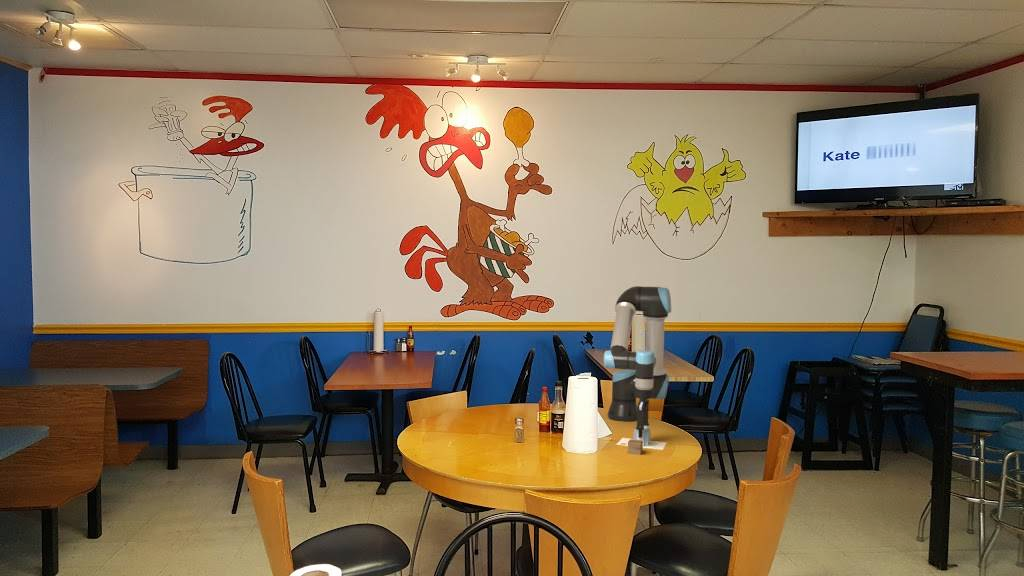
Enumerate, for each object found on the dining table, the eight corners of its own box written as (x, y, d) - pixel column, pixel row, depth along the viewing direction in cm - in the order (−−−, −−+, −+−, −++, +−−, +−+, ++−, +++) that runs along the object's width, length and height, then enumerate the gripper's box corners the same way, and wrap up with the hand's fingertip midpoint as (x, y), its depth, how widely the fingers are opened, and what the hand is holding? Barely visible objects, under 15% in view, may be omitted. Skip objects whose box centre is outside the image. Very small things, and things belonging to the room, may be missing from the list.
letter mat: (619, 436, 327) (619, 436, 327) (671, 442, 319) (671, 441, 319) (611, 445, 312) (611, 445, 312) (665, 452, 304) (665, 451, 304)
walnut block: (630, 451, 305) (630, 439, 304) (642, 452, 303) (642, 440, 303) (627, 454, 300) (628, 442, 300) (640, 455, 298) (640, 443, 298)
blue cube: (635, 441, 319) (636, 427, 319) (650, 442, 317) (650, 428, 317) (633, 444, 314) (633, 430, 313) (647, 446, 312) (648, 431, 311)
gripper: (639, 383, 325) (637, 436, 326) (630, 391, 306) (628, 447, 308) (656, 385, 322) (654, 438, 323) (649, 392, 304) (646, 449, 305)
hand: (641, 442), depth 315 cm, fingers open, 6 cm apart
